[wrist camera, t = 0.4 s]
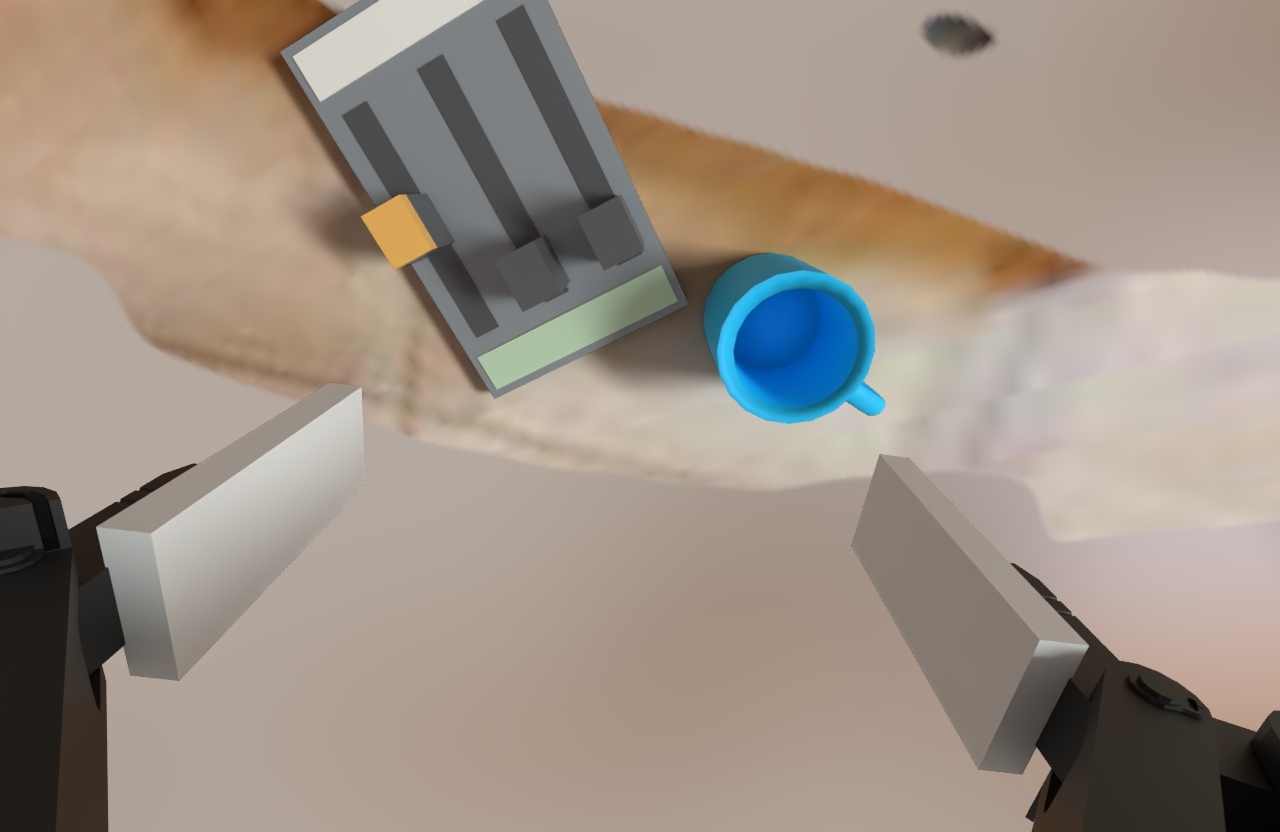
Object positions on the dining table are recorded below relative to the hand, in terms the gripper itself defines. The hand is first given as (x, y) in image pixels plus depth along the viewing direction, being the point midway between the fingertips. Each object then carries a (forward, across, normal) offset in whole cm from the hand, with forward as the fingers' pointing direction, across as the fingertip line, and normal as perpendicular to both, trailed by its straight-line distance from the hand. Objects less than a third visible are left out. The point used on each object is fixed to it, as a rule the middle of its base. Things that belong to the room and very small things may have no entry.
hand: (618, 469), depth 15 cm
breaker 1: (+23, -6, +1) cm, 24 cm away
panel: (+24, -9, +6) cm, 26 cm away
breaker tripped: (+23, -13, +3) cm, 26 cm away
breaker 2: (+23, -2, +4) cm, 23 cm away
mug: (+25, +10, -1) cm, 27 cm away
